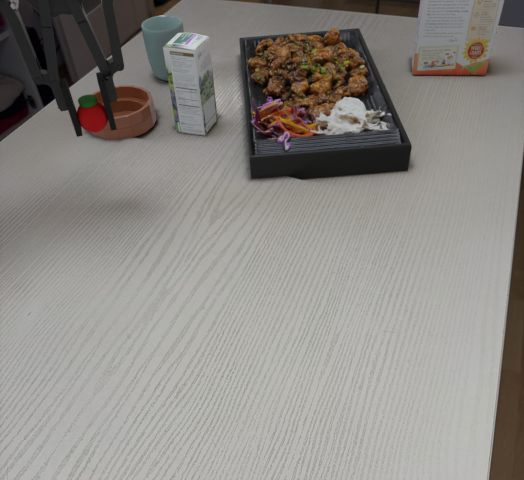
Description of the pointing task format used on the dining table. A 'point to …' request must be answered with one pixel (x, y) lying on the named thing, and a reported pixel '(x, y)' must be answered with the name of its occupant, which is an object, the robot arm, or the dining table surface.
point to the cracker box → (455, 36)
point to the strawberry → (91, 114)
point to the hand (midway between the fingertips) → (95, 128)
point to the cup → (159, 40)
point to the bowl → (129, 112)
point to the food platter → (318, 107)
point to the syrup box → (191, 82)
